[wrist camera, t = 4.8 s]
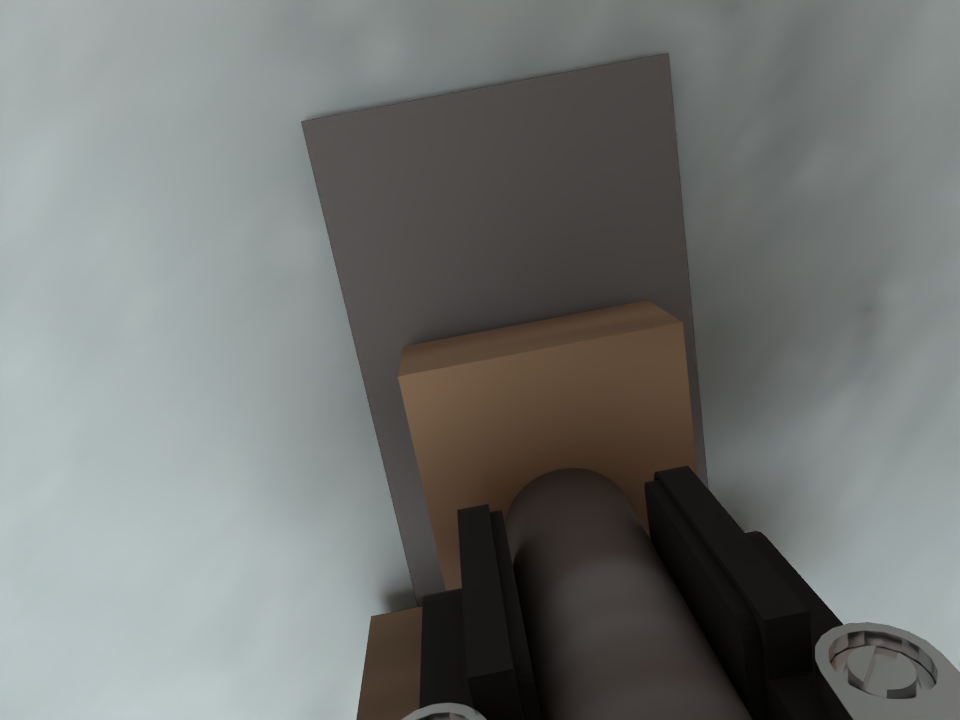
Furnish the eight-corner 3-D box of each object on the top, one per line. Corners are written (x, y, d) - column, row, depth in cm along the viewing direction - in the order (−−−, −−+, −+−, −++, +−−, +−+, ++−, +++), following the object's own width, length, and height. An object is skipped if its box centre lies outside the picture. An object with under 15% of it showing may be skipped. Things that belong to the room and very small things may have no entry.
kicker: (304, 365, 14) (135, 626, 6) (745, 281, 14) (1140, 432, 6) (390, 688, 16) (347, 1179, 8) (768, 614, 16) (1075, 1032, 8)
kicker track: (304, 122, 13) (301, 121, 13) (661, 56, 13) (668, 53, 13) (436, 672, 17) (436, 684, 16) (714, 618, 17) (721, 628, 16)
